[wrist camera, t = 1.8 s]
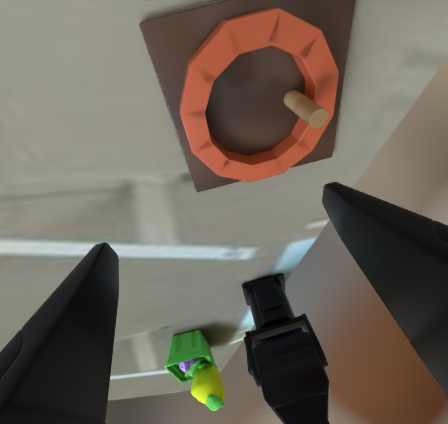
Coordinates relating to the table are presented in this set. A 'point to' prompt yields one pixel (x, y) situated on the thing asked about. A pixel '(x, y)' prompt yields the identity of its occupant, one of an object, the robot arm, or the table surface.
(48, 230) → the table surface
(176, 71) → the peg stand
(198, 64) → the ring
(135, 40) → the table surface
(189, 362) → the fruit basket
